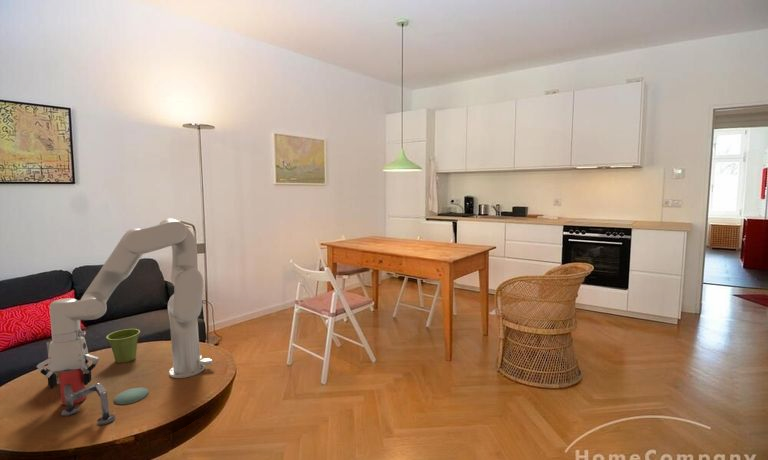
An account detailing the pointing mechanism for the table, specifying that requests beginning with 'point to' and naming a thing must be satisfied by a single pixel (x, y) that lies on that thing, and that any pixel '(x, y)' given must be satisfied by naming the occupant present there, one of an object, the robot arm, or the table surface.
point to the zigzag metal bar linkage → (72, 396)
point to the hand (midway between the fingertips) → (70, 385)
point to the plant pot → (124, 344)
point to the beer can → (72, 383)
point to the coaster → (131, 396)
